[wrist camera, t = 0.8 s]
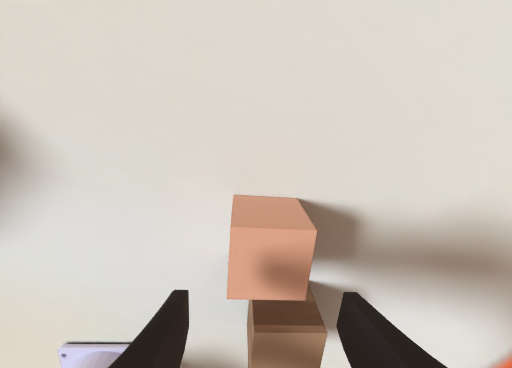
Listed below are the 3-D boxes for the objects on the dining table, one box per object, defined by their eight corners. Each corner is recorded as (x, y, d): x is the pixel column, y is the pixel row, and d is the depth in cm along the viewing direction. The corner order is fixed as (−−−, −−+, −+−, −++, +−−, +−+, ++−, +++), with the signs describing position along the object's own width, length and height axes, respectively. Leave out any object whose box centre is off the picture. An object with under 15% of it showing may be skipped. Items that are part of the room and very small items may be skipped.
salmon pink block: (289, 253, 21) (305, 300, 16) (230, 251, 21) (226, 299, 16) (296, 198, 20) (317, 230, 14) (233, 194, 19) (230, 227, 14)
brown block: (299, 324, 24) (316, 384, 18) (247, 323, 23) (248, 385, 18) (306, 280, 22) (327, 333, 17) (250, 278, 22) (254, 332, 16)
